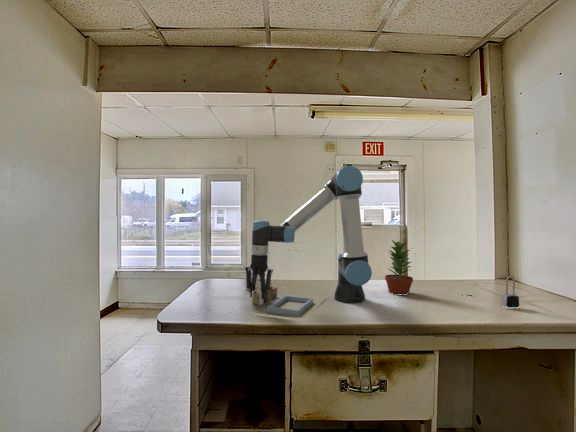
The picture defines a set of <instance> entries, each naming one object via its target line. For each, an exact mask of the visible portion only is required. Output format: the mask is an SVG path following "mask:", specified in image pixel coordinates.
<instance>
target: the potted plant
mask: <svg viewBox="0 0 576 432" xmlns="http://www.w3.org/2000/svg"><path fill="white" fill-rule="evenodd" d="M391 242H392V243H393V244H394V246H391V248H392V250H393V251H392V250H390V249H388V251H389V252H390V253H389V252H388V254H389V255H390V259H391V260H392V261H391V265H392V266H391V265H390V266H389V267H390V268H391V269H390V268H388V270H389V271H390V272H392V273H393V274H386V275H385V276H384V280H385V282H386V286H387V289H388V293H389V292H390V293H393V294H392V295H394V294H407V293H410V291H411V287H412V284H413V282H414V277H412V276H409V275H404V273H405V272H409V269H408V268H412V267H413V265H412V266H411V265H409V264H411V263H412V261H408V260H410V257H407V256H409V254H410V252H409V251H410V249H407V250H406V249H403V248H404V247H405V245H406V244H407V242H401V241H400V240H398V241H394V240H393V239H391ZM407 261H408V262H407ZM407 265H408V266H407ZM392 269H393V270H392ZM390 293H389V294H390Z"/></svg>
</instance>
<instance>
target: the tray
mask: <svg viewBox="0 0 576 432" xmlns="http://www.w3.org/2000/svg"><path fill="white" fill-rule="evenodd" d="M279 298H280V299H279V300H277V301H275V302H274V303H270V304H269V305H268V306H266V312H267V313H269V315H272V316H273V314H271V313H274V314H277V316H280V315H279V314H281V315H288V316H291V318H293V319H294V318H295V317H296V316H297V317H300V315H301V314H302V313H303V312H304V311H305V310H307V309H308V308H309V307H310V306H311V305H313V304H314V298H310V297H303V296H302V297H301V296H292V295H284V296H282V297H279ZM286 301H287V302H288V301H289V302H295V303H296V302H297V303H303V304H302V305H301V306H300V307H299V308H297V309H293V308H284V307H280V305H282V304H283V303H285V302H286ZM278 306H279V307H278ZM288 316H284V317H287V318H288ZM292 316H295V317H292Z"/></svg>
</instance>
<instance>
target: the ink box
mask: <svg viewBox="0 0 576 432" xmlns="http://www.w3.org/2000/svg"><path fill="white" fill-rule="evenodd" d="M252 274H253V271H252V269H251V282H252V277H253V276H252ZM260 287H261V282H260V277H259V274H258V276H257V280H256V285H255V289H257V288H260ZM255 289H254V290H255ZM245 290H247V291H250V289H247V277H246V276H245Z"/></svg>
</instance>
